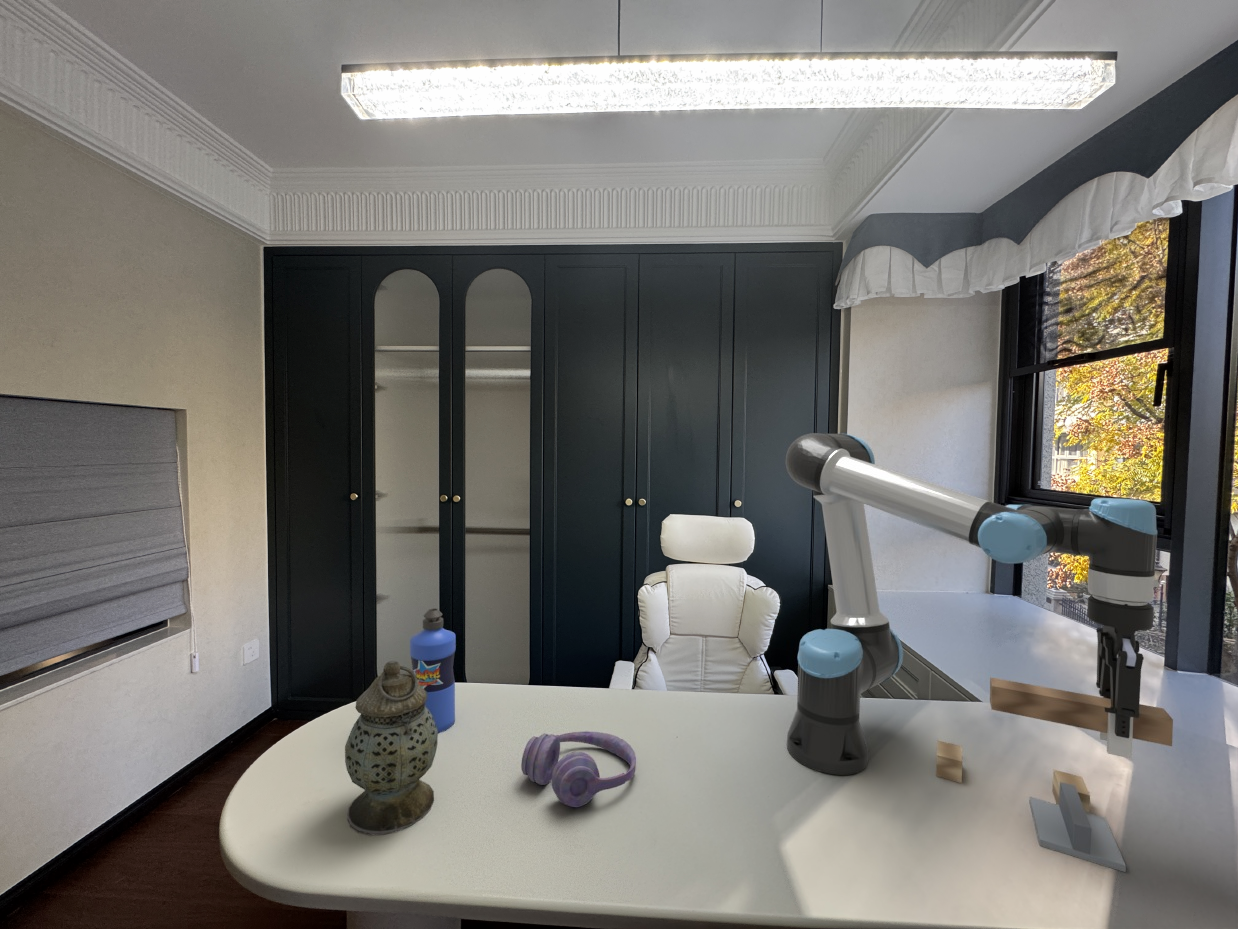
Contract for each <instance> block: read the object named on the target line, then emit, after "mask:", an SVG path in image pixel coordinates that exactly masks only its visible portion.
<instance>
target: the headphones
mask: <svg viewBox="0 0 1238 929" xmlns="http://www.w3.org/2000/svg"><path fill="white" fill-rule="evenodd" d="M566 742H567V743H569V742H571V743H572V742H573V743H583V744H587V745H591V746H595V747H599V748H601V749H603V750H605V751H608V752H610V753H612V754H614V755H617V757H619V758H621V759H623V760H624V761H626V762H627V763H628V764H629V765H630V768H628V771H627V772H626V773H625V772H621V773H619V774H617V775H616V774H615V775H613V776H608V777H601V775H600V771H599V768H598V765H597V763H596V760H594V758H593V757H592V756H591V755H589V754H588V753H586V752H583V751H573V752H570V753H567V754H566V755H564V756H562V757H561V758H560V754H561V743H566ZM520 766H521V767H520V768H521V772H522V775H525V776H528V778H529V780H530V781H531V782H534V783H537V784H538V785H539V786H540V785H541V786H544V785H548V784H549V783H550V782H551V787H552V790H553V793H554V795H555V796H556V797H557V799H558V800H559V802H561V803H562V804H564V805H566V806H569V807H572V808H579V807H583V806H584V805H586V804H588V803H589V802H590V801H591V800H592V799H593V798H594V797H595V795H596V794H597V793H599V792H601V791H605V790H610V789H614V788H615V789H616V788H617V787H620V786H623V785H624V784H626V782H628V781H630V780H631V779H633V777H634V776H635V774H636V766H637V756H636V753H635V750H634V749H633V747H632V746H631V745H630V744H629V743H628V742H627V741H626V740H625V739H623V738H620V737H619V736H617V735H614V734H611V733H605V732H599V731H574V732H573V731H572V732H569V733H568V732H567V733H562V734H560V735H559V734H556V735H555V734H549V733H542V734H541V735H539V736H532V737H531V738H530V739H529V740H528V741H527V743H526V745H525V747H524V750H523V753H522V758H521V765H520Z"/></svg>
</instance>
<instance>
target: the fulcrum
mask: <svg viewBox="0 0 1238 929" xmlns="http://www.w3.org/2000/svg"><path fill="white" fill-rule="evenodd" d="M1028 801H1029V807H1030V811H1031V815H1032V819H1033V824H1034V827H1035V828H1034V829H1035V832H1036V836H1037V840H1038V845H1039V846H1040V847H1043V848H1046V849H1049V850H1053V851H1056V852H1059V853H1063V854H1065V855H1069V856H1072V857H1076V858H1078V859H1081V860H1085V861H1088V862H1090V863H1095V864H1098V865H1101V866H1104V867H1107V868H1110V869H1114V870H1117V871H1120V872H1123V873H1126V870H1127V869H1126V868H1127V865H1126V863H1125V861H1124V859H1123V856H1122V853H1121V852H1120V849H1119V846H1118V844H1117V842H1116V840H1115V838H1114V835H1113V832H1112V830H1111V827H1110V826H1109V824H1108V821H1107V819H1106V817H1104V816H1101V815H1097V814H1093V813H1090V812H1089V813H1087V812H1085V810H1084V808H1083V805H1082V803H1081V800H1080V797H1079V795H1078V792H1077V790H1076V787H1075V786H1074V785H1070V784H1066V783H1063V782H1060V790H1059V805H1058V804H1056V802H1055V803H1054V802H1050V801H1046V800H1044V799H1040V798H1037V797H1032V796H1029V798H1028Z"/></svg>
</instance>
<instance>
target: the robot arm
mask: <svg viewBox="0 0 1238 929" xmlns="http://www.w3.org/2000/svg"><path fill="white" fill-rule="evenodd" d="M875 462H876V460H875V455H874V453H873V450H872V449H871V447H870V445H869V444H868V443H867V442H866V441H864V440H863V439H862V438H860V437H858V436H855V435H851V434H847V433H843V432H841V433H818V432H817V433H816V432H812V433H807V434H803V435H800V436H799V437H798V438H796V439H795V440H794V441H793V442H792V443H791V444H790V446H789V447H788V449H787V451H786V456H785V467H786V470H787V473H788V475H789V476H790V478H791V479H792V480H793V481H794V482H795V483H797V484H798V485H799V486H801V487H804V488H806V489H809V490H812V495H813V498H814V499H815V500H816V501H818V502H819V503H820V504H821V508H822V514H823V515H822V516H823V521H824V522H823V523H824V529H825V538H826V544H827V545H826V546H827V551H828V559H829V566H830V567H829V568H830V571H831V572H830V573H831V580H832V586H833V587H832V588H833V595H834V596H833V597H834V602H835V610H836V612H835V614H834V615H833V616H832V618H831V619H830V625H831V628H825V629H821V628H819V629H814V630H812V631H809V632H807V633H806V634H804V635H803V636H802V638H801V639H800V641H799V646H798V653H797V664H798V666H797V702H796V703H797V704H796V711H795V714H794V716H793V718H792V721H791V724H790V726H789V729H788V731H787V737H786V738H787V739H786V740H787V741H786V748H787V750H788V752H789V754H790V755H791V756H792V757H793V759H794V760H796V761H798V762H799V763H800V764H802V765H804V766H805V767H807V768H810V769H812V770H814V771H817V772H821V773H823V774H824V773H825V774H830V775H839V776H840V775H841V776H848V775H854V774H857V773H861V772H862V771H864V770H865V769H866V767H867V766H868V762H869V750H868V749H869V748H868V745H867V742H866V739H865V738H866V737H865V735H864V732H863V728H862V724H861V721H860V712H861V710H860V709H861V694H863V693H864V692H865V691H868V690H870V689H872V688H873V687H875V686H877V685H879V684H883V683H885V682H887V681H888V680H890V679H891V678H892V677H893V676H894V675H895V674H896V673H898V671H899V670H900V668H901V666H902V664H903V659H904V648H903V646H902V642H901V640H900V638H899V637H898V635H897V634H895V632H894V631H893V630H892V629H891V627H890V621H889V618H888V617H887V616H886V615H884V614H883V613H882V612H881V611H880V605H879V599H878V591H877V585H876V578H875V577H876V576H875V573H874V572H875V571H874V566H873V564H874V563H873V558H872V550H871V545H870V543H871V542H870V538H869V537H870V536H869V530H868V524H867V516H866V510H865V509H866V508H865V505H867V506H869V507H872V508H874V509H877V510H880V511H883V512H885V513H888V514H890V515H893V516H896V517H899V518H900V519H904V520H906V521H909V522H912V523H914V524H916V525H919V526H922V527H925V528H927V529H930V530H933V531H935V532H938V533H940V534H943V535H946V536H949V537H951V538H953V539H956V540H959V541H962V542H964V543H967V544H970V545H973V546H975V547H977V548H979V549H981V550H982V551H983V552H984V553H985V554H986V555H987V556H988V557H989V558H991V559H992V560H994V561H996V562H999V563H1002V564H1023V563H1026V562H1027V563H1028V562H1030V561H1033V560H1035V559H1036V558H1037V557H1040V556H1042V555H1045V554H1049V553H1055V554H1061V555H1063V554H1064V555H1073V556H1079V557H1082V556H1083V557H1088V560H1089V561H1088V562H1089V563H1088V568H1087V569H1088V571H1087V572H1088V573H1087V592H1088V593H1089V594H1090V596H1089V597H1087V609H1086V610H1087V618H1088V619H1089V620H1090V621H1091V622H1093V623H1095V624H1097V625H1101V626H1102V627H1097V626H1096V627H1097V628H1096V630H1095V631H1096V635H1097V636H1096V637H1097V654H1096V658H1097V659H1096V683H1095V685H1096V688H1097V689H1098V694H1099V697H1103V698H1108V699H1111V707H1110V708H1106V707H1105V712H1108V730H1107V733H1104V732H1099V731H1098V738H1099V740H1101V741H1106V752H1107V754H1108V755H1113V756H1117V757H1120V758H1121V757H1122V758H1126V759H1131V760H1132V759H1133V758H1132V756H1133V738H1132V737H1133V717H1134V718H1139V704H1140V701H1141V680H1142V679H1141V678H1142V668H1143V663H1144V659H1145V657H1144V655H1143V653H1140V642H1139V640H1136V635H1135V633H1136V632H1139V631H1141V632H1145V631H1146V632H1147V631H1150V630H1151V629H1153V628H1154V615H1155V614H1154V612H1155V610H1154V608H1155V607H1154V606H1153V605H1152V604H1151V602H1153V601H1154V595H1155V589H1154V588H1158V587H1159V586H1160V582H1159V581H1158V580H1155V574H1156V561H1157V560H1156V559H1157V558H1156V555H1157V542H1158V539H1157V538H1158V530H1157V509H1156V507H1155V505H1154V504H1153V503H1151V502H1149V501H1146V500H1142V499H1134V498H1133V499H1132V498H1114V497H1113V498H1111V497H1100V498H1099V497H1097V498H1094V499H1093V500H1091V502H1090V505H1089V507H1088V508H1084V509H1082V508H1081V509H1080V508H1078V509H1076V508H1075V509H1074V508H1065V507H1063V508H1062V507H1054V506H1053V507H1052V506H1043V505H1042V506H1039V505H1033V504H1008V505H1003V504H1002V505H1001V504H999V503H997V502H996V503H995V502H992V501H989V500H987V499H983V498H980V497H977V496H975V495H971V494H969V493H965V492H962V491H958V490H955V489H952V488H949V487H946V486H943V485H940V484H937V483H934V482H930V481H929V480H928V481H927V480H924V479H921V478H917V477H914V476H912V475H908V474H906V473H902V472H899V471H895V470H892V469H890V468H887V467H884V466H882V465H881V466H880V465H878V464H875Z"/></svg>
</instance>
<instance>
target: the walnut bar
mask: <svg viewBox="0 0 1238 929" xmlns="http://www.w3.org/2000/svg"><path fill="white" fill-rule="evenodd" d="M989 704H990V708H991V710H992V711H996V712H997V711H998V712H1001V713H1006V714H1011V715H1016V716H1022V717H1026V718H1030V719H1035V720H1040V721H1046V722H1050V723H1056V724H1059V725H1060V724H1061V725H1065V726H1070V727H1074V728H1080V729H1085V730H1091V731H1095V732H1098V733H1099V732H1104V733H1107V730H1108V712H1105V707H1106V708H1110V707H1111V699H1108V698H1103V697H1102V696H1096V695H1091V694H1085V693H1080V692H1076V691H1075V692H1074V691H1068V690H1063V689H1057V688H1052V687H1051V688H1050V687H1047V686H1046V687H1045V686H1042V685H1041V686H1040V685H1036V684H1030V683H1023V682H1018V681H1011V680H1008V679H1003V678H1002V679H1000V678H996V677H989ZM1173 727H1174V719H1173V718H1172V716H1171V715H1170V714H1169V713H1168V712H1167V711H1166V710H1165V708H1163V707H1157V706H1152V705H1147V704H1141V703H1139V718H1134V717H1133V737H1132V740H1133V739H1135V740H1139V741H1144V742H1148V743H1154V744H1157V745H1158V744H1160V745H1164V746H1168V747H1173V736H1174V735H1173V733H1174V732H1173V731H1174V730H1173V729H1174V728H1173Z"/></svg>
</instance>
